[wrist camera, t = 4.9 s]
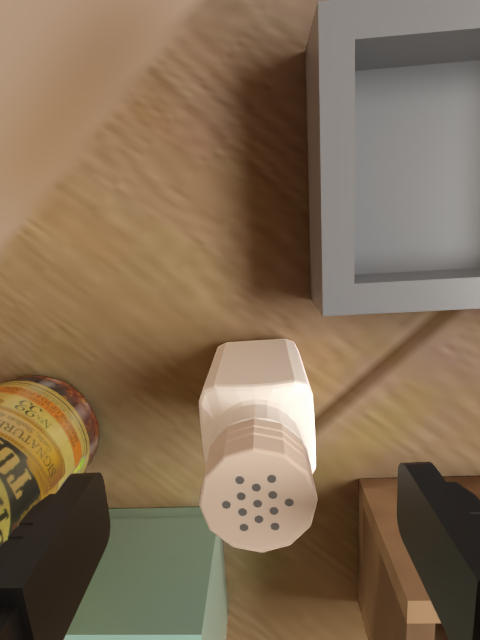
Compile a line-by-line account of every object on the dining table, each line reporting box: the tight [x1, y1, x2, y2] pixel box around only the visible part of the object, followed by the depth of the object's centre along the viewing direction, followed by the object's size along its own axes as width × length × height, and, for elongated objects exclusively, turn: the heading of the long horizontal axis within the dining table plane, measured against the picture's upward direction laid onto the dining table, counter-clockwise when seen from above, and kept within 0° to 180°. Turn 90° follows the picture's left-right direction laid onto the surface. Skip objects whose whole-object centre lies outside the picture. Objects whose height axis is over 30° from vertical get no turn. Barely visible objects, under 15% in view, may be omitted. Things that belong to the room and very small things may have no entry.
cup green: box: [64, 507, 228, 640], centre depth 19 cm, size 7×7×7 cm
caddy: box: [306, 0, 480, 316], centre depth 15 cm, size 11×11×4 cm
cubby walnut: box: [358, 476, 480, 640], centre depth 18 cm, size 8×8×7 cm
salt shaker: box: [198, 339, 318, 553], centre depth 15 cm, size 4×4×10 cm
